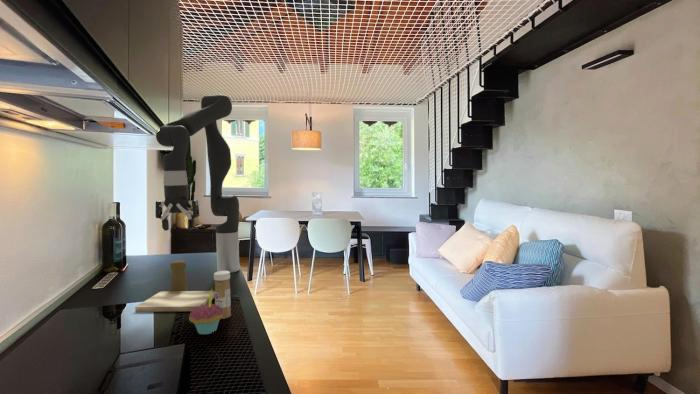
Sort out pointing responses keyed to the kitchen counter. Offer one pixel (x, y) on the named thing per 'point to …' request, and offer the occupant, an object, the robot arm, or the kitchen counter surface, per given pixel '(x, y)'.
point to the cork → (178, 276)
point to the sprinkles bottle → (223, 292)
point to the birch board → (175, 301)
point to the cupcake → (206, 317)
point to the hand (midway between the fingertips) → (178, 229)
